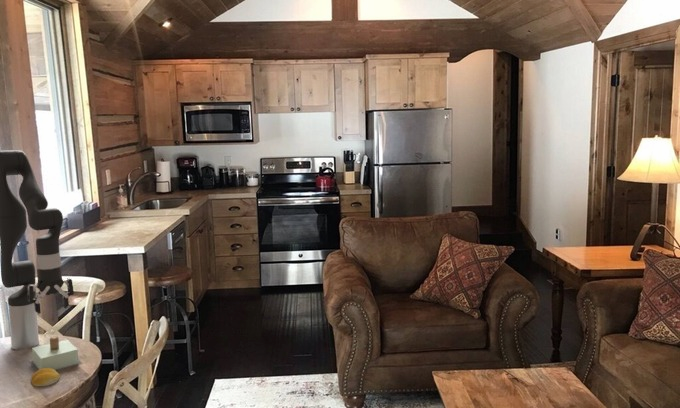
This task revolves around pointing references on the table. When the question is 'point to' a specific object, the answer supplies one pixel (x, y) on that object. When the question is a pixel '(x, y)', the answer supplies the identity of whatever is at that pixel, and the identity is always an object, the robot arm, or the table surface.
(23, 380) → the table surface
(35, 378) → the bread roll
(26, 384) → the table surface
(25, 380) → the table surface
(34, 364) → the mat
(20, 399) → the table surface
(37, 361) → the cover
